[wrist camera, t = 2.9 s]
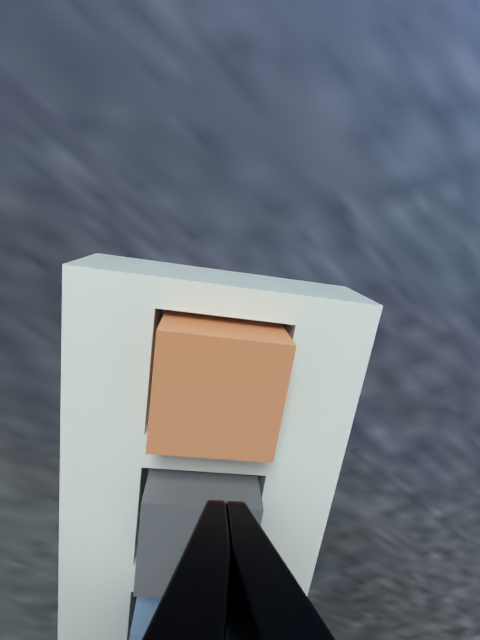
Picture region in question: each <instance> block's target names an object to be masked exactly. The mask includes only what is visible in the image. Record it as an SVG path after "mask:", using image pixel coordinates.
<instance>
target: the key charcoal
mask: <svg viewBox="0 0 480 640" xmlns="http://www.w3.org/2000/svg"><path fill="white" fill-rule="evenodd" d="M208 500H224V501H225V502H226V503H227V501H243V502H245V503H246V504H247V506H248V507H249V509H250V510H251V512H252V513H253V515H254V516H255V518H256V520H257V521H258V523H259V524H260V526H261V521H262V516H263V511H264V509H263V503H262V498H261V492H260V487H259V481H258V476H257V475H245V474H230V473H215V472H200V471H185V470H170V469H155V468H149V472H148V477H147V481H146V485H145V489H144V493H143V498H142V502H141V511H140V523H139V534H138V545H137V557H136V568H135V580H134V591H133V597H162V595H163V593H164V591H165V589H166V587H167V585H168V583H169V580H170V578H171V576H172V574H173V572H174V570H175V568H176V565H177V563H178V561H179V559H180V557H181V555H182V553H183V551H184V548H185V546H186V544H187V542H188V540H189V538H190V536H191V534H192V531H193V529H194V527H195V525H196V523H197V521H198V519H199V516H200V514H201V512H202V510H203V508H204V506H205V504H206V502H207V501H208Z"/></svg>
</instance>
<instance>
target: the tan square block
mask: <svg viewBox="0 0 480 640" xmlns="http://www.w3.org/2000/svg"><path fill="white" fill-rule="evenodd" d="M295 351H296V344H295V343H294V341H293V340H292V338H291V337H290V336H289V334H288V333H287V331H286V330H285V328H284V327H283V325H282V324H281V323H273V322H265V321H256V320H248V319H239V318H231V317H223V316H214V315H206V314H197V313H189V312H181V311H172V310H166V311H165V313H164V315H163V317H162V319H161V321H160V323H159V325H158V328H157V330H156V339H155V351H154V362H153V374H152V385H151V397H150V408H149V419H148V431H147V442H146V454H154V455H168V456H182V457H196V458H210V459H224V460H238V461H252V462H266V463H273V461H274V456H275V451H276V446H277V441H278V436H279V431H280V426H281V421H282V416H283V411H284V406H285V401H286V396H287V391H288V386H289V381H290V376H291V371H292V366H293V361H294V356H295Z"/></svg>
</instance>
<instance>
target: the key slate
mask: <svg viewBox="0 0 480 640" xmlns="http://www.w3.org/2000/svg"><path fill="white" fill-rule="evenodd" d="M160 600H161V597H137V599H136V604H135V609H134V615H133V620H132V625H131V630H130V637H129V640H142V638H143V636H144V634H145V632H146V629H147V627H148V625H149V623H150V621H151V619H152V617H153V615H154V612H155V610H156V608H157V606H158V604H159V602H160Z"/></svg>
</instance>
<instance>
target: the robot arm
mask: <svg viewBox="0 0 480 640" xmlns="http://www.w3.org/2000/svg"><path fill="white" fill-rule="evenodd" d="M142 640H335V638H334V637H333V635H332V634H331V632H330V631H329V629H328V628H327V626H326V625H325V623H324V622H323V620H322V619H321V617H320V616H319V614H318V613H317V611H316V609H315V608H314V606H313V605H312V603H311V602H310V600H309V599H308V597H307V596H306V594H305V593H304V591H303V590H302V588H301V587H300V585H299V584H298V582H297V581H296V579H295V577H294V576H293V574H292V573H291V571H290V570H289V568H288V567H287V565H286V564H285V562H284V561H283V559H282V558H281V556H280V555H279V553H278V552H277V550H276V548H275V547H274V545H273V544H272V542H271V541H270V539H269V538H268V536H267V535H266V533H265V532H264V530H263V529H262V527H261V526H260V524H259V523H258V521H257V520H256V518H255V516H254V515H253V513H252V512H251V510H250V509H249V507H248V506H247V504H246V503H245V502H243V501H227V503H226V502H225V501H224V500H208V501H207V502H206V504H205V506H204V508H203V510H202V512H201V514H200V516H199V519H198V521H197V523H196V525H195V527H194V529H193V531H192V534H191V536H190V538H189V540H188V542H187V544H186V546H185V548H184V551H183V553H182V555H181V557H180V559H179V561H178V563H177V565H176V568H175V570H174V572H173V574H172V576H171V578H170V580H169V583H168V585H167V587H166V589H165V591H164V593H163V595H162V597H161V600H160V602H159V604H158V606H157V608H156V610H155V612H154V615H153V617H152V619H151V621H150V623H149V625H148V627H147V629H146V632H145V634H144V636H143V638H142Z"/></svg>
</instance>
